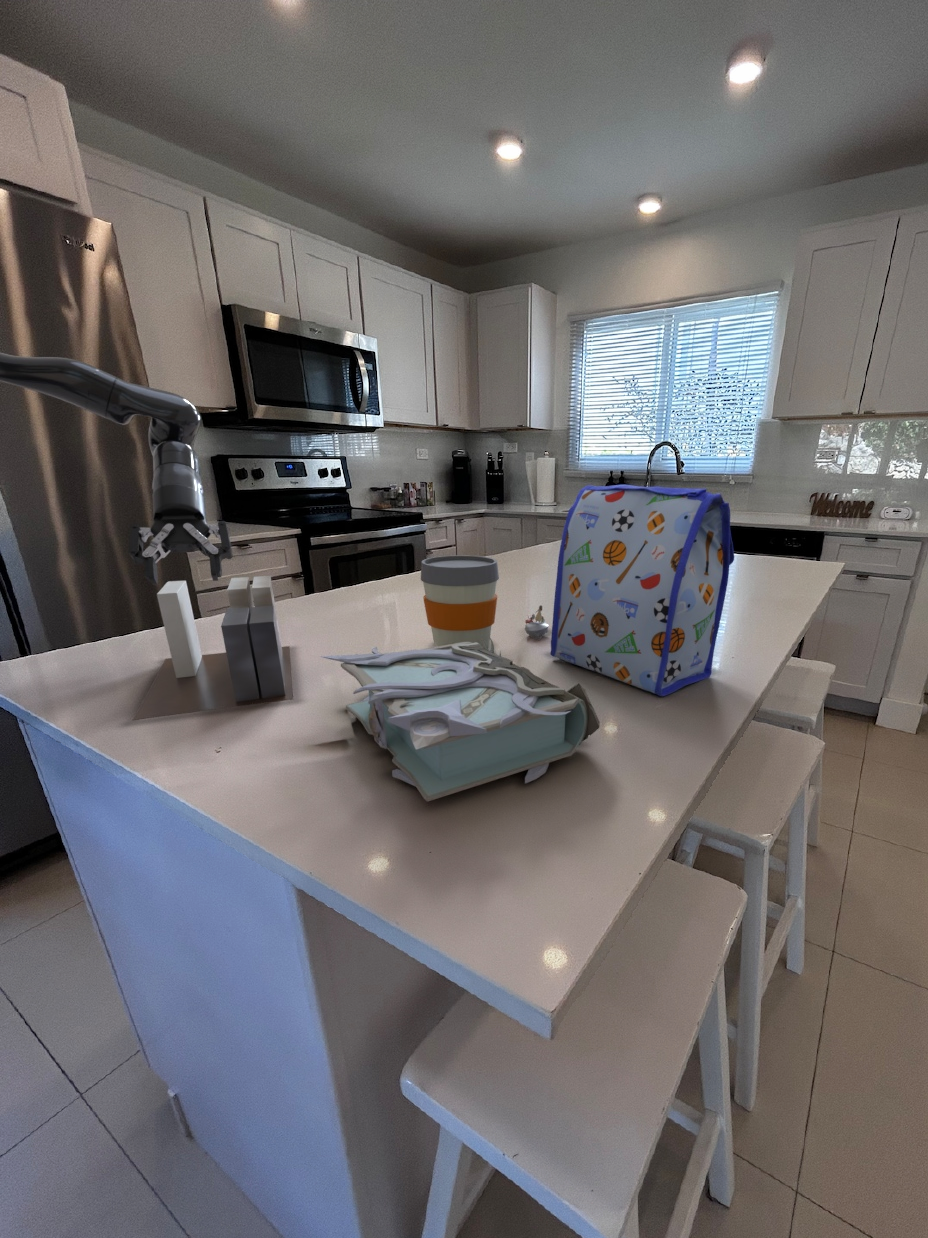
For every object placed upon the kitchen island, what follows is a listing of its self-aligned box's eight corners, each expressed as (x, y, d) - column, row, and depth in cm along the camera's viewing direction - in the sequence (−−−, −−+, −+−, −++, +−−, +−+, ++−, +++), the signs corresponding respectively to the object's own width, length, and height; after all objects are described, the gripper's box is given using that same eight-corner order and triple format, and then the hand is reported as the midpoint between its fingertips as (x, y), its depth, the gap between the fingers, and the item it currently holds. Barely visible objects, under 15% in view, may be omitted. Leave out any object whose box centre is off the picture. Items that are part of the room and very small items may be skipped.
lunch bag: (726, 673, 86) (755, 486, 76) (666, 702, 75) (690, 490, 65) (607, 640, 101) (617, 482, 91) (543, 661, 91) (547, 484, 81)
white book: (176, 678, 79) (156, 594, 75) (184, 659, 87) (167, 581, 83) (195, 676, 80) (176, 592, 76) (202, 657, 88) (185, 580, 84)
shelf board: (134, 729, 67) (104, 621, 62) (167, 665, 88) (147, 581, 83) (295, 707, 73) (279, 607, 68) (290, 653, 94) (278, 573, 89)
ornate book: (609, 769, 61) (475, 676, 84) (618, 687, 57) (474, 613, 80) (414, 838, 49) (320, 708, 72) (408, 742, 46) (311, 637, 69)
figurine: (539, 642, 100) (540, 609, 98) (518, 638, 102) (518, 606, 100) (553, 635, 104) (554, 603, 102) (533, 631, 106) (533, 600, 104)
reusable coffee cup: (409, 653, 94) (402, 562, 88) (456, 636, 104) (453, 552, 98) (468, 668, 87) (466, 570, 82) (513, 647, 97) (514, 559, 92)
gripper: (230, 513, 100) (238, 590, 95) (137, 515, 95) (139, 596, 90) (222, 482, 94) (230, 563, 88) (121, 483, 89) (123, 568, 83)
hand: (184, 580), depth 89 cm, fingers open, 8 cm apart
